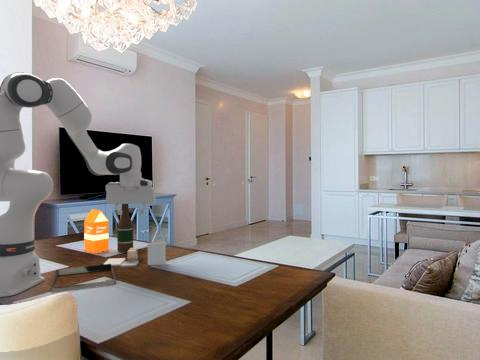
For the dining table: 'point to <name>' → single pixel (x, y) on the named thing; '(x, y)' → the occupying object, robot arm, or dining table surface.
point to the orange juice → (96, 232)
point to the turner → (131, 258)
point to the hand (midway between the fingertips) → (131, 214)
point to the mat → (115, 261)
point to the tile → (157, 253)
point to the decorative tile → (83, 270)
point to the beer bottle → (125, 231)
